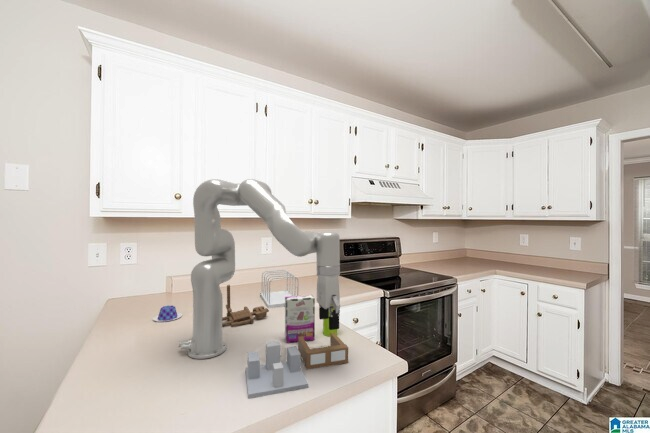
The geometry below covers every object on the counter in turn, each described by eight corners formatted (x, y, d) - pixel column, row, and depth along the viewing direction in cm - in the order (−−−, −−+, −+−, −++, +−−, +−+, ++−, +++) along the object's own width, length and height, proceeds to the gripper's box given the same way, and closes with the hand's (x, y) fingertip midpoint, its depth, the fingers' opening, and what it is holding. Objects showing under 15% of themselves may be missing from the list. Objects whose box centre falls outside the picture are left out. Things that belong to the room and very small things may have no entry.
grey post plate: (248, 398, 73) (248, 367, 73) (245, 370, 86) (245, 344, 86) (308, 387, 78) (308, 358, 78) (296, 362, 91) (297, 338, 91)
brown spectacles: (306, 369, 87) (307, 353, 87) (297, 351, 99) (297, 337, 99) (348, 363, 92) (348, 347, 92) (334, 346, 104) (334, 332, 104)
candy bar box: (312, 335, 113) (312, 294, 114) (314, 340, 109) (315, 297, 109) (284, 338, 110) (284, 296, 111) (285, 343, 106) (286, 299, 106)
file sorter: (260, 296, 171) (260, 270, 171) (288, 293, 177) (288, 268, 177) (267, 308, 148) (268, 278, 148) (299, 305, 154) (300, 276, 154)
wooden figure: (208, 286, 123) (263, 275, 136) (209, 321, 127) (263, 308, 140) (215, 302, 111) (275, 289, 124) (216, 341, 115) (274, 324, 129)
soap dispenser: (327, 329, 120) (327, 281, 120) (340, 333, 116) (340, 284, 116) (318, 333, 115) (318, 284, 116) (331, 337, 111) (332, 286, 111)
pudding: (173, 323, 126) (174, 311, 126) (146, 322, 125) (147, 311, 125) (186, 314, 138) (187, 303, 138) (162, 313, 137) (162, 303, 138)
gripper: (309, 267, 98) (310, 316, 98) (325, 276, 82) (326, 335, 82) (330, 265, 101) (330, 314, 100) (349, 274, 84) (350, 332, 84)
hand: (328, 323), depth 91 cm, fingers open, 9 cm apart
